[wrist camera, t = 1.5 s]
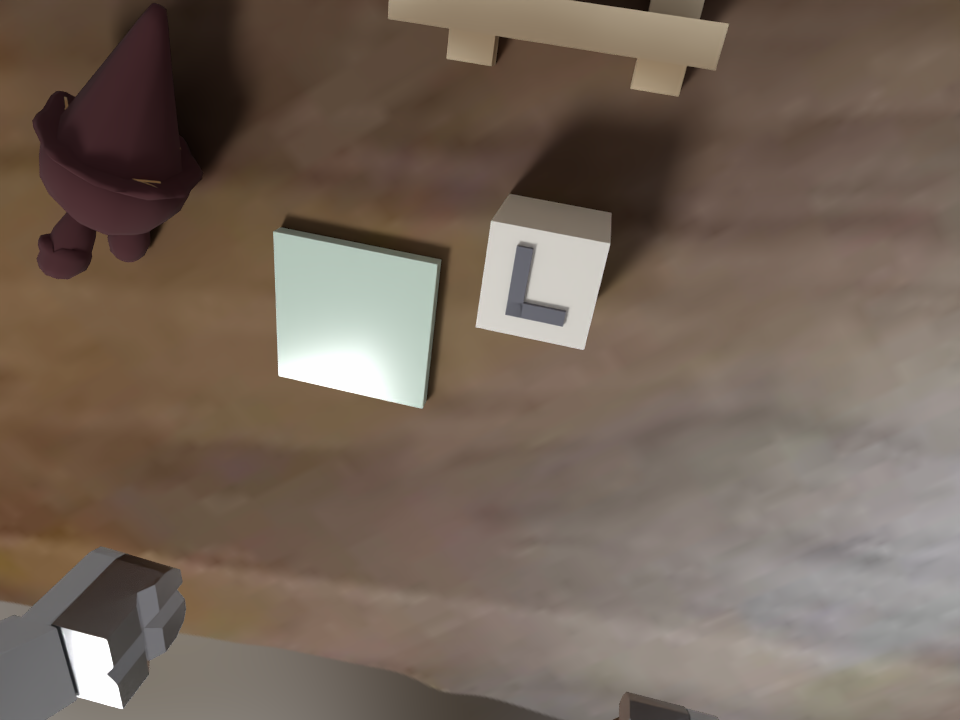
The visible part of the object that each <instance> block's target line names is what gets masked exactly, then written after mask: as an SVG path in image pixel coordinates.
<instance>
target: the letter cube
mask: <svg viewBox="0 0 960 720" xmlns="http://www.w3.org/2000/svg"><path fill="white" fill-rule="evenodd" d="M611 216H612V213H610V212H604V211H599V210H594V209H588V208H583V207H578V206H572V205H567V204H562V203H556V202H551V201H546V200H540V199H535V198H530V197H524V196H519V195H514V194H509V195H508V197H507V198H506V200H505V201H504V203H503V204H502V206H501V207H500V209H499V210H498V212H497V213H496V215H495V216H494V217H493V219H492V220H491V226H490V233H489V240H488V247H487V253H486V260H485V267H484V274H483V281H482V288H481V295H480V301H479V308H478V315H477V322H476V327H478V328H483V329H487V330H492V331H497V332H501V333H506V334H511V335H516V336H520V337H525V338H530V339H534V340H539V341H544V342H549V343H553V344H558V345H563V346H568V347H572V348H577V349H582V350H584V348H585V344H586V340H587V336H588V332H589V328H590V324H591V320H592V316H593V312H594V308H595V304H596V300H597V296H598V292H599V288H600V284H601V280H602V276H603V272H604V268H605V264H606V260H607V256H608V252H609V248H610V243H611Z"/></svg>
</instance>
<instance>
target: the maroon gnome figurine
mask: <svg viewBox="0 0 960 720" xmlns="http://www.w3.org/2000/svg"><path fill="white" fill-rule="evenodd" d="M32 121H33V128H34V130H35V132H36V134H37V136H38V138H39V140H40V142H41V143H40V153H39V166H40V178H41V180H42V182H43V184H44V186H45V187H46V189H47V191H48V193H49V194H50V196H51V197H52V198H53V199H54V200H55V201H56V202H57V203H58V204H59V205H60V206H61V207H62V208H63V209H64V210H65V211H66V212H67V213H66V214H65V215H64V216H63V217H62V218H61V220H60V221H59V222H58V223H57V224H56V225H55V227H54V228H53V230H52V232H51V233H50V234H45V235H41V236H40V238H39V240H38V247H39V250H40V252H39V254H38V257H37V262H38V265H39V268H40V269H41V270H42V271H43V272H44V273H45V275H48V276H51V277H54V278H56V279H70V278H72V277H74V276H76V275H77V274H79V273H81V272H83V271H85V270H86V269H87V268H88V266H89V264H90V262H91V258H92V249H93V245H94V242H95V237H96V231H98V232H100V233H103V234H106V235H108V242H109V247H110V251H111V252H112V253H113V254H114V255H115V256H116V258H118V259H120V260H122V261H125V262H134V261H136V260H139V259H140V258H141V257H143V256H144V255H145V253H146V251H147V249H148V247H149V245H150V230H152V229H154V228H155V227H157V226H159V225H160V224H162V223H164V222H165V221H167V220H168V219H170V218H171V217H172V216H174V215H175V214H176V213H178V212H179V211H180V210H181V208H182V207H183V205H184V203H185V201H186V199H187V198H188V196H189V193H190V191H191V190H192V189H193V187H194V186H195V185H196V184H197V183H198V182H199V181H200V180H201V179H202V176H203V172H202V170H201V168H200V166H199V165H198V163H197V162H196V160H195V159H194V157H193V156H192V153H191V151H190V149H189V147H188V145H187V143H186V141H185V139H184V138H183V137H182V136H180V135H179V132H178V122H177V113H176V103H175V93H174V84H173V74H172V64H171V52H170V40H169V27H168V19H167V11H166V9H165V8H164V7H163V6H161V5H159V4H157V3H152V4H151V5H150V6H149V7H148V8H147V10H146V11H145V12H144V13H143V14H142V15H141V16H140V18H139V19H138V20H137V21H136V23H135V24H134V25H133V26H132V28H131V29H130V30H129V31H128V33H127V34H126V35H125V36H124V38H123V39H122V40H121V41H120V43H119V44H118V45H117V46H116V48H115V49H114V50H113V51H112V53H111V54H110V55H109V56H108V58H107V59H106V60H105V61H104V62H103V64H102V65H101V66H100V67H99V69H98V70H97V71H96V72H95V74H94V75H93V76H92V77H91V79H90V80H89V81H88V82H87V83H86V85H85V86H84V87H83V88H82V90H81V91H80V92H79V93H78V95H77V96H76V97H74V96H72V95H70V94H68V93H66V92H63V91H56V92H55V93H53V94H52V95H51V96H50V98H49V100H48V101H47V103H46V105H45V106H44V108H43V109H42V110H41V111H40V112H39V113H37V114H36V116H35V117H34V119H33V120H32Z"/></svg>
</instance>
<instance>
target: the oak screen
mask: <svg viewBox="0 0 960 720" xmlns="http://www.w3.org/2000/svg"><path fill="white" fill-rule="evenodd" d="M704 1H705V0H650V5H649V9H648V12H646V11H639V10H633V9H626V8H619V7H613V6H606V5H599V4H592V3H586V2H579V1H572V0H389V8H388V19H392V20H399V21H405V22H411V23H418V24H424V25H430V26H437V27H443V28H449V38H448V49H447V59H452V60H458V61H464V62H470V63H476V64H482V65H488V66H493V65H496V57H497V50H498V42H499V36H500V37H507V38H513V39H519V40H526V41H532V42H538V43H545V44H551V45H557V46H564V47H570V48H576V49H583V50H589V51H595V52H602V53H608V54H614V55H621V56H627V57H634V58H637V60H636V64H635V69H634V73H633V77H632V82H631V86H630V88H631V89H636V90H642V91H648V92H654V93H660V94H666V95H672V96H678V97H679V93H680V90H681V86H682V82H683V79H684V75H685V71H686V68H687V66H691V67H697V68H703V69H710V70H716V67H717V63H718V60H719V56H720V53H721V50H722V46H723V43H724V39H725V36H726V33H727V29H728V26H729V24H727V23H720V22H713V21H707V20H700V16H701V12H702V9H703V5H704Z"/></svg>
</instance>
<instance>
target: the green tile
mask: <svg viewBox="0 0 960 720" xmlns="http://www.w3.org/2000/svg"><path fill="white" fill-rule="evenodd" d="M273 235H274V262H275V290H276V317H277V345H278V372H279V376H282V377H286V378H291V379H295V380H299V381H304V382H308V383H312V384H317V385H321V386H326V387H330V388H334V389H339V390H343V391H347V392H352V393H356V394H361V395H365V396H369V397H374V398H378V399H382V400H387V401H391V402H396V403H400V404H404V405H409V406H413V407H417V408H422V409H423V407H424V405H425V403H426V399H427V390H428V381H429V371H430V362H431V353H432V343H433V334H434V324H435V315H436V306H437V296H438V287H439V278H440V268H441V259H436V258H431V257H426V256H421V255H416V254H411V253H406V252H401V251H396V250H391V249H386V248H381V247H377V246H372V245H367V244H362V243H357V242H352V241H347V240H342V239H337V238H332V237H327V236H322V235H317V234H312V233H307V232H302V231H297V230H292V229H287V228H282V227H280V228H279V229H277V230H275V231H273Z"/></svg>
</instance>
